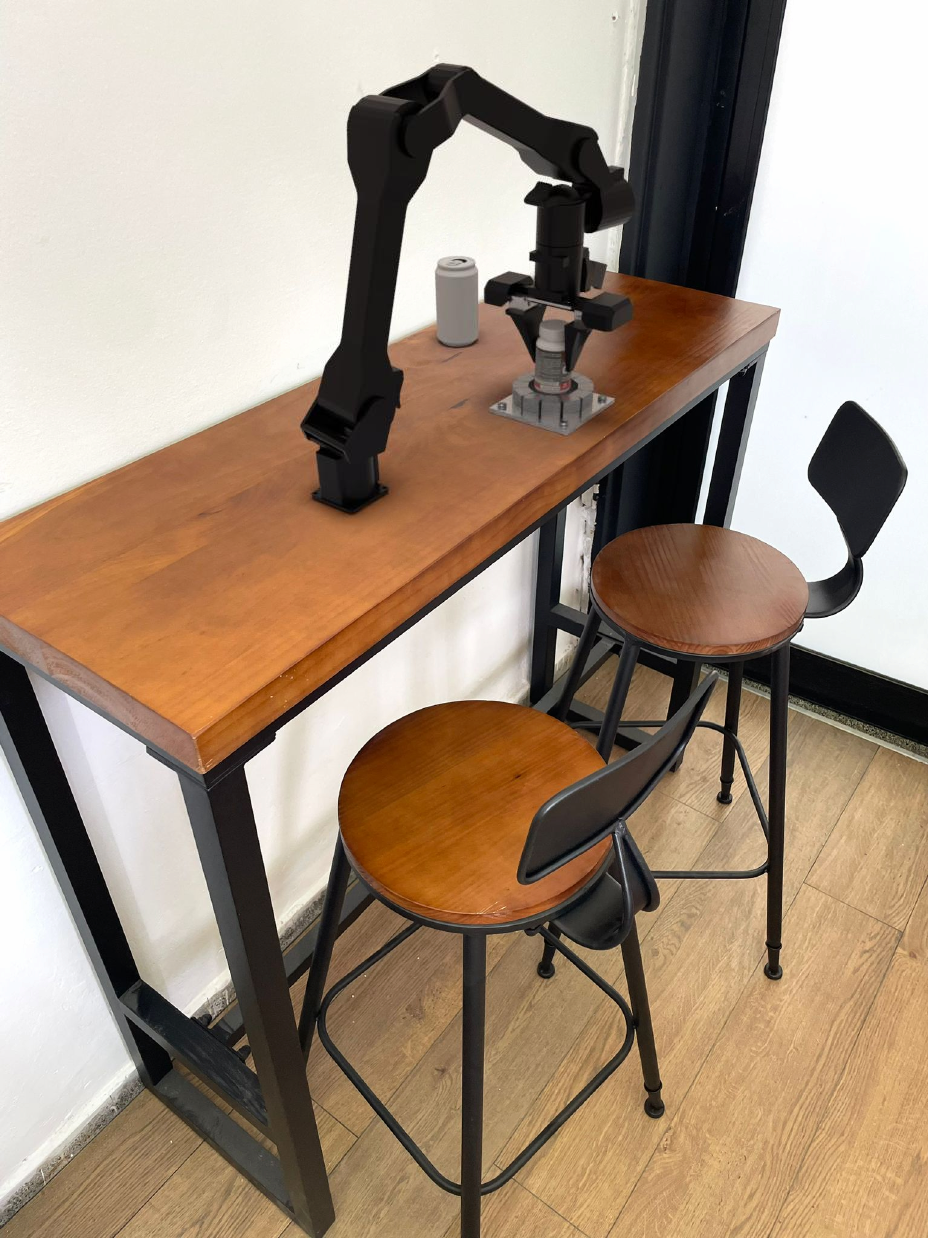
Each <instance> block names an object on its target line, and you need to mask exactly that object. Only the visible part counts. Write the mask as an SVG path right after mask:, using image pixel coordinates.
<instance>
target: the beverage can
mask: <svg viewBox="0 0 928 1238" xmlns="http://www.w3.org/2000/svg"><path fill="white" fill-rule="evenodd" d="M436 263H437V266H436V268H435V270H434V282H435V283H434V284H435V308H436V309H435V311H436V334H437V339H438V340H439V342H442V343H443V345H445V346H447V347H452V348H453V347H458V348H460V347H466V346H468V345H471V344H472V343H474V341H476V340H477V339H478V338H479V329H480V328H479V269H478V267H477V265H476V259H474V258H472V257H470V256H464V255H451V256H445V257H441V258H439V259H438V260H437V262H436Z"/></svg>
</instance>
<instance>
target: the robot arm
mask: <svg viewBox="0 0 928 1238" xmlns="http://www.w3.org/2000/svg"><path fill="white" fill-rule="evenodd" d="M461 121H464V122H466V123H469V125H471V126H474V127H475V128H477V129H479V130H481V131H483V132H484V133H486V134H488V135H491V136H492V137H494V138H496V139H498V140H500V141H501V142H503V143H505V144H507V145H509V146H511V147H512V148H513V149H514V150H515V151H516V152H517V153H518V155H519V157H520V160H521V161H522V163H524V164H525V165H526V166H527V167H528V168H529V169H531V171H532V172H534V173H536V175H539V176H544V177H547V178H551V179H552V180H556V181H561V182H565V183H559V184H558V183H557V184H555V185H553V184H552V183H549V182H545V181H540V180H539V181H537V182H536V183H535V186H534V187H533V188H532V189H531V190H530V191H528V193H527V194H526V195H525V196H524V198H523V203H524V204H525V205H529V206H533V207H536V220H535V221H536V224H535V226H536V227H535V231H536V232H535V249H533V250H530V251H529V253H528V261H529V262H534V279H533V278H532V275H529V274H526V273H521V272H520V273H519V272H516V271H512V270H511V271H510V270H508V271H505V272H503V273H501V274H498V275H496V276H494V277H492V278H490V279H488V280H487V281H486V283H485V285H484V288H483V302H484V304H485V305H486V304H487V305H491V306H495V307H498V308H503V307H505V305H506V304H507V303H508V308H505V309H504V314H505V315H506V316H509V317H510V318H511V320H512V322H513V324H514V325H515V328H516V329H517V331H518V332H519V335H520V336H521V338H522V340H523V342H524V345H525V347H526V349H527V350H526V351H528V354H529V356H530V358H531V361H532V362H533V364H535V360H536V342H537V339H538V338H539V337H540V335H539V327H540V323H541V322H543V321H544V319H543V318H544V315H545V313H546V310H547V307H551V308H555V309H558V310H559V309H560V310H564V311H567V312H572V313H574V315H573V320H572V321H570V322H569V323H568V324H566V325H564V336H565V364H566V371H567V372H569V373H570V372H574V370H575V368H576V365H577V362H578V360H579V358H580V356H581V353H582V351H583V349H584V346H585V344H586V342H587V340H588V338H589V337H590V335H591V334H592V332H593V330H595V331H599V332H603V333H611V332H613V331H615V330H617V329H620V328H621V327H622V326H624V325H625V324H627V323H629V322H631V321H633V319H634V318H633V317H634V307H635V305H634V304H633V302H632V300H631V297H630V296H626V295H623V294H617V293H612V292H607V291H604V292H601V293H600V294H597V295H596V296H594V297H592V298H589V297H586V296H581V294H582V293H586V294H587V293H588V292H590V291H592V288H593V289H595V290H600V291H601V290H603V285H604V280H605V276H606V273H607V267H608V264H607V263H603V262H599V261H597V260H596V261H595V260H592V259H590V248H589V247H588V246H584V245H585V243H584V242H585V234H587V235H588V234H589V235H590V234H594V233H597V232H601V231H605V230H608V229H612V228H615V227H619V226H622V225H624V224H626V223H627V222H629V221H630V219H631V218H632V216H633V214H634V211H635V209H636V198H635V195H634V191H633V188H632V186H631V185H630V183H629V182H628V180H627V179H626V178H625V167H621V166H616V165H613V164H612V165H608V164H607V161H606V158H605V156H604V154H603V151H602V149H601V146H600V145H599V142H598V141H599V139H600V137H599V134H598V132H597V131H596V130H595V129H594V128H593V127H591V126H590V125H589V126H588V125H584V124H581V123H576V122H573V121H569V120H564V119H560V118H554V117H551V116H548V115H545V114H544V113H542V112H540V111H538V110H537V109H535V108H534V107H532V106H531V105H529V104H527V103H526V102H524V101H522V100H520V99H519V98H517V97H516V96H514V95H512V94H510V93H509V92H507V91H505V90H504V89H502V88H501V87H499V86H497V85H495V84H494V83H492V82H490V81H489V80H488V79H486V78H484V77H482V76H481V75H480V74H479V73H478V72H477V71H476V69H473V68H472V67H471V66H468V65H463V64H453V63H445V62H440V63H437V64H435V65H434V66H430V67H429V68H428V69H427V70H425V71H424V72H422V73H421V74H419V75H417V76H415V77H413V78H410V79H407V80H405V81H403V82H399V83H397V84H395V85H392V86H390V87H388V88H386V89H384V90H383V91H382V92H380V93H378V94H368V95H366V96H362V97H361V98H360V99H359V100H358V101H357V102H356V104H354V105H352V106H351V108H350V110H349V112H348V117H347V121H346V153H347V154H346V157H347V158H346V160H347V161H346V162H347V165H348V169H349V172H350V175H351V178H352V181H353V184H354V188H355V192H356V207H355V217H354V224H353V234H352V241H351V250H350V251H351V252H350V259H349V267H348V274H347V275H348V277H347V285H346V291H345V293H346V294H345V301H344V310H343V311H344V312H343V321H342V329H341V336H340V341H339V345H338V346H337V347H336V348H335V350H334V351H333V352H332V354H331V355H330V357H329V358H328V360H327V362H325V365H324V368H323V372H322V375H321V379H320V382H319V389H318V392H317V395H316V397H315V399H314V401H313V402H312V404H311V406H310V408H308V411H307V412H306V414H305V416H304V418H303V419H302V421H301V422H300V425H299V428H300V429H301V431H302V433H303V435H304V438H305V439H306V441H309V442H313V443H314V444H316V445H318V446H319V449H318V450H316V451H315V457H316V458H315V460H316V467H317V474H318V475H317V476H318V482H319V488H317V489H316V490H314V491H312V492H311V493H310V495H311V498H312V499H314V500H317V501H318V502H322V503H323V504H326V505H328V506H331V507H333V508H336V509H338V510H341V511H343V512H346V513H348V514H355V513H358V511H360V510H361V509H364V508H365V507H366V506H368V505H370V504H371V503H373V502H374V501H376V500H378V499H379V498H381V497H383V496H384V495H386V494H388V492H390V489H389V486H388V485H385V484H382V483H380V482H379V481H380V479H381V478H380V469H379V467H380V466H379V455H380V454H383V453H385V452H386V449H387V444H388V440H389V436H390V430H391V427H392V423H393V421H394V420H395V419H394V418H395V415H396V412H397V409H398V410H401V407H402V406H401V393H402V387H403V385H404V381H405V380H404V379H405V377H404V376H405V375H404V370H403V369H400V368H398V367H396V366H394V365H392V364H391V360H390V356H389V353H388V350H389V349H388V346H389V339H390V332H391V325H392V318H393V310H394V304H395V298H396V289H397V282H398V276H399V275H398V274H399V268H400V261H401V260H400V259H401V253H402V246H403V238H404V229H405V223H406V218H407V211H408V206H409V204H410V202H411V201H412V199H413V198H414V197H415V195H416V193H417V192H418V190H419V189H420V187H421V186H422V184H423V183H424V181H425V180H426V178H427V176H428V172H429V167H430V164H431V160H432V156H433V154H434V151H435V149H437V148H438V147H440V146H441V145H442V144H444V143H445V142H446V141H448V140H449V139H451V138H452V137H453V136H454V135H455V132H456V131H457V129H458V127H459V125H460V123H461ZM566 183H571V185H569V184H566Z"/></svg>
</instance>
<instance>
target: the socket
mask: <svg viewBox="0 0 928 1238" xmlns="http://www.w3.org/2000/svg"><path fill="white" fill-rule="evenodd" d="M534 380H535V370H534V371H528V372H526V373H522V374H521V375H520V376H518V377H516V378H514V380H513V383H512V384H513V385H512V394H510V395H509V396H506V397H505V398H503V399H502V400H500V401H498V402H496V403H495V404H493V405H491V406H490V407H489V411H488V412H489V413H491V414H493V415H494V414H495V415H497V416H501V417H505V418H507V419H511V420H515V421H517V422H520V423H523V424H527V425H530V426H533V427H537V428H541V429H544V430H546V431H550V432H553V433H557V434H560V435H563V436H568V435H570V434H571V433H573V432H574V431H576V430H577V429H578V428H579V427H581V426H582V425H584V424H586V423H588V422H589V421H590V420H591V419H593V418H595V417H596V416H597V415H599V414H600V413H601V412H603V411H605V410H606V409H607V408H609V407H611V406H612V405H614V404H615V398H613V397H610V396H607V395H605V394H598V393H594V387H595V385H594V382H593V381H592V380H591V379H589V378H588V377H587V376H586V375H583V374H582V373H578V372H574V371H571V385H570V388H569V390H567V391H566V392H564V393H560V394H548V393H543V392H540V391H538V390H537V389H536V388H535V385H534ZM604 409H605V410H604Z"/></svg>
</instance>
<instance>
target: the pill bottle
mask: <svg viewBox="0 0 928 1238" xmlns="http://www.w3.org/2000/svg"><path fill="white" fill-rule="evenodd" d="M568 323H570V322H569V321H566V320H564V319H558V318H555V319H552V318H551V319H545V320H543V322H541V323H540V327H539V335H540V337H539V338H538V339H537V342H536V360H535V363H534V371H535V380H534V385H535V388H536V389H537V390H538V391H540V392H543V393H548V394H560V393H564V392H566V391H567V390H569V388H570V385H571V372H572V371H571V372H570V373H569V372H567V371H566V364H565V336H564V325H566V324H568Z"/></svg>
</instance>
